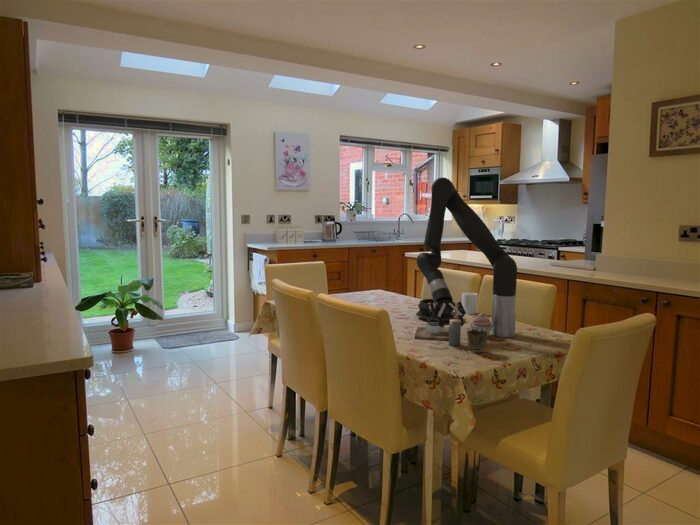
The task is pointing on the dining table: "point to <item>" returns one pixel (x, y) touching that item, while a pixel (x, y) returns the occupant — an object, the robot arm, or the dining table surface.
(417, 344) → the dining table surface
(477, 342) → the cup
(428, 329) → the grey octagonal sleeve
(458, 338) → the grey cylinder tan top
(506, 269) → the robot arm
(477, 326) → the cupcake
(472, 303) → the white cup
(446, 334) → the board
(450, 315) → the casserole
